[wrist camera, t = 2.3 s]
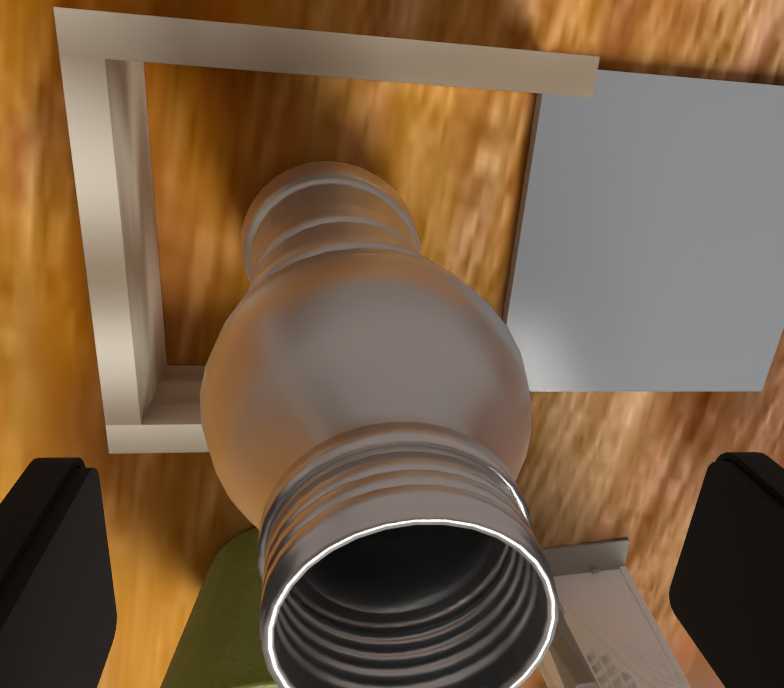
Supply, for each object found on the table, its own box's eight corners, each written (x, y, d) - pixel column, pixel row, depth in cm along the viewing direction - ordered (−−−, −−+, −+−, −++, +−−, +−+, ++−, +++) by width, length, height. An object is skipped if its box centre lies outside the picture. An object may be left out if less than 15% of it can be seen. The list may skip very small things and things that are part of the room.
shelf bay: (104, 20, 21) (53, 6, 17) (542, 59, 24) (599, 56, 19) (140, 389, 27) (109, 453, 23) (491, 389, 30) (526, 446, 25)
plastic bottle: (297, 117, 24) (307, 268, 5) (438, 212, 26) (779, 543, 8) (216, 257, 25) (17, 730, 7) (355, 335, 27) (474, 844, 9)
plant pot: (436, 551, 33) (499, 764, 23) (295, 683, 36) (296, 927, 25) (258, 436, 29) (238, 636, 19) (112, 596, 31) (24, 849, 21)
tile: (541, 65, 24) (547, 65, 23) (853, 92, 26) (865, 92, 26) (492, 385, 30) (495, 391, 29) (753, 385, 32) (761, 391, 31)
